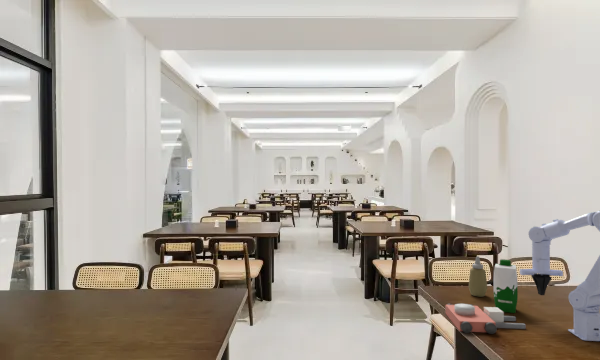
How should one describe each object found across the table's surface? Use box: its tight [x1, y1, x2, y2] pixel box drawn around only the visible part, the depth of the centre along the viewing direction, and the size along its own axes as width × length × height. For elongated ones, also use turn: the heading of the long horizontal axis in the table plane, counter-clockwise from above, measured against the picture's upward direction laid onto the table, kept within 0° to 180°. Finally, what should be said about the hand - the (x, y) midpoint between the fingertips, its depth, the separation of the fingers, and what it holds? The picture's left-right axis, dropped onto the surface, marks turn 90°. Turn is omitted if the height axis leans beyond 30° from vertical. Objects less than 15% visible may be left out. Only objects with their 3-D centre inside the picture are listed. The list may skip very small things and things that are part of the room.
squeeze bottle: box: [468, 255, 488, 298], centre depth 188 cm, size 8×8×18 cm
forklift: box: [444, 303, 527, 335], centre depth 149 cm, size 23×24×6 cm
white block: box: [483, 306, 505, 323], centre depth 149 cm, size 6×8×5 cm
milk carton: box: [493, 258, 519, 314], centre depth 165 cm, size 9×9×20 cm
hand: (541, 294), depth 152 cm, fingers closed
